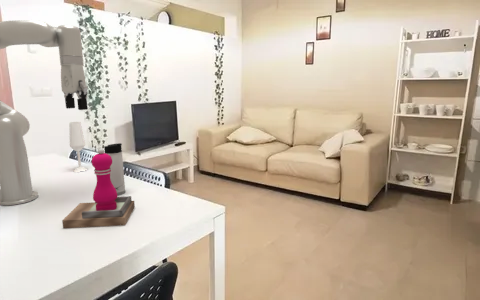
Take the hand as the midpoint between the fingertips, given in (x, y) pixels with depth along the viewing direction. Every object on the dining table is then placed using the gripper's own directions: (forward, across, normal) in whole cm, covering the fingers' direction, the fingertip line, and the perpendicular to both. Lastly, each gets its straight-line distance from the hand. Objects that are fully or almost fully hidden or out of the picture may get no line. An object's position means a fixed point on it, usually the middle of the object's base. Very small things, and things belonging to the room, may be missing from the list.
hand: (76, 108), depth 119 cm
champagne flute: (+33, -34, +14) cm, 49 cm away
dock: (+33, +28, -8) cm, 44 cm away
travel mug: (+33, +11, +8) cm, 36 cm away
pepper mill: (+31, +29, -7) cm, 42 cm away
